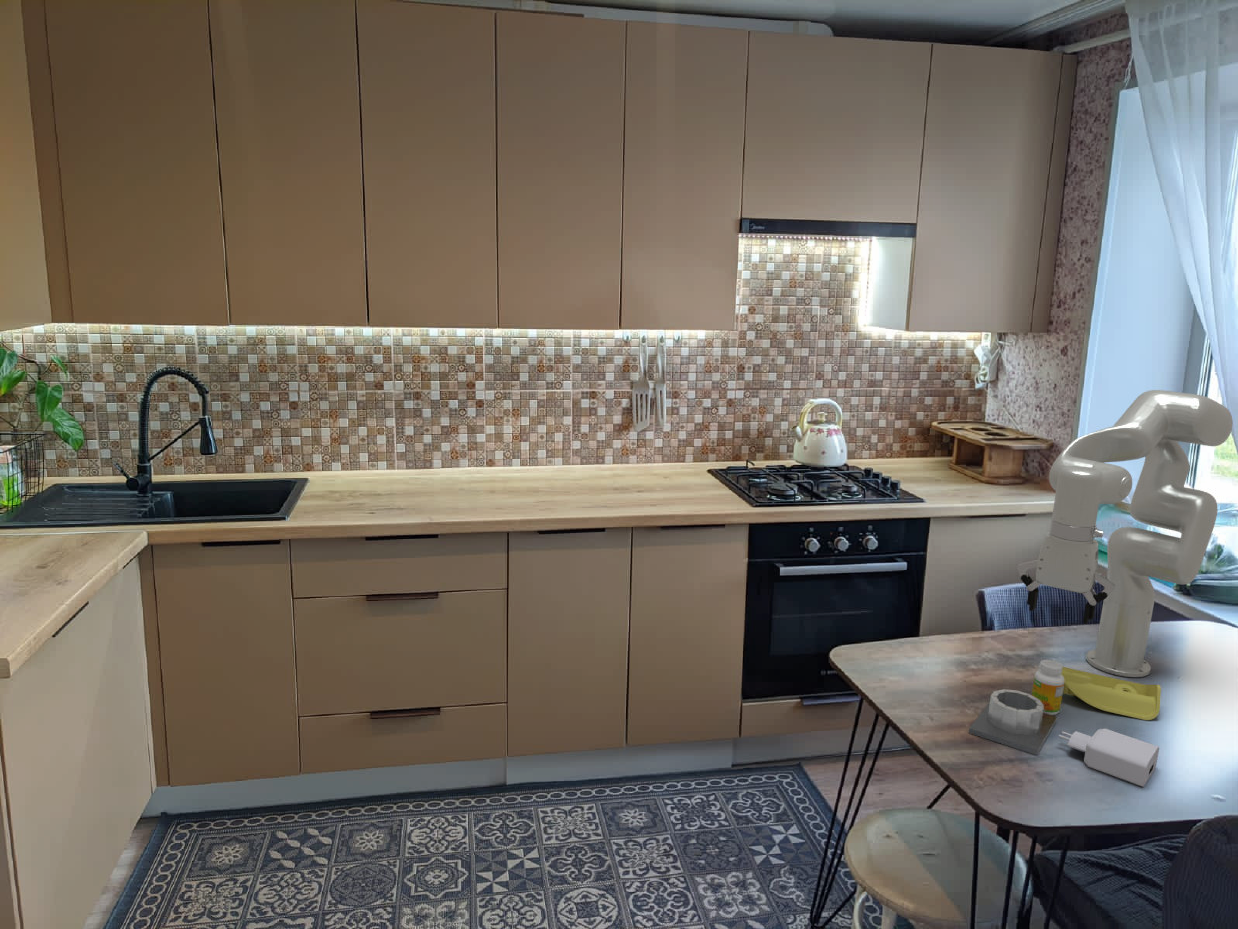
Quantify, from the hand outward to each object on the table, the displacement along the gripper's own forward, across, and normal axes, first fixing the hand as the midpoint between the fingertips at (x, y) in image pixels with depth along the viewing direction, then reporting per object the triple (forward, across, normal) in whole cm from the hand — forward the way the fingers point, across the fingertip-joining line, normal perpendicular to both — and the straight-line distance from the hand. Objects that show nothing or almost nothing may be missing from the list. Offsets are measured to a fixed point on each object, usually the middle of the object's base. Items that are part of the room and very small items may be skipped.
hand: (1058, 615), depth 175 cm
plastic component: (+20, -8, -12) cm, 25 cm away
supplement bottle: (+20, 0, 0) cm, 20 cm away
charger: (+20, -13, +14) cm, 28 cm away
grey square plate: (+20, +3, +12) cm, 23 cm away
